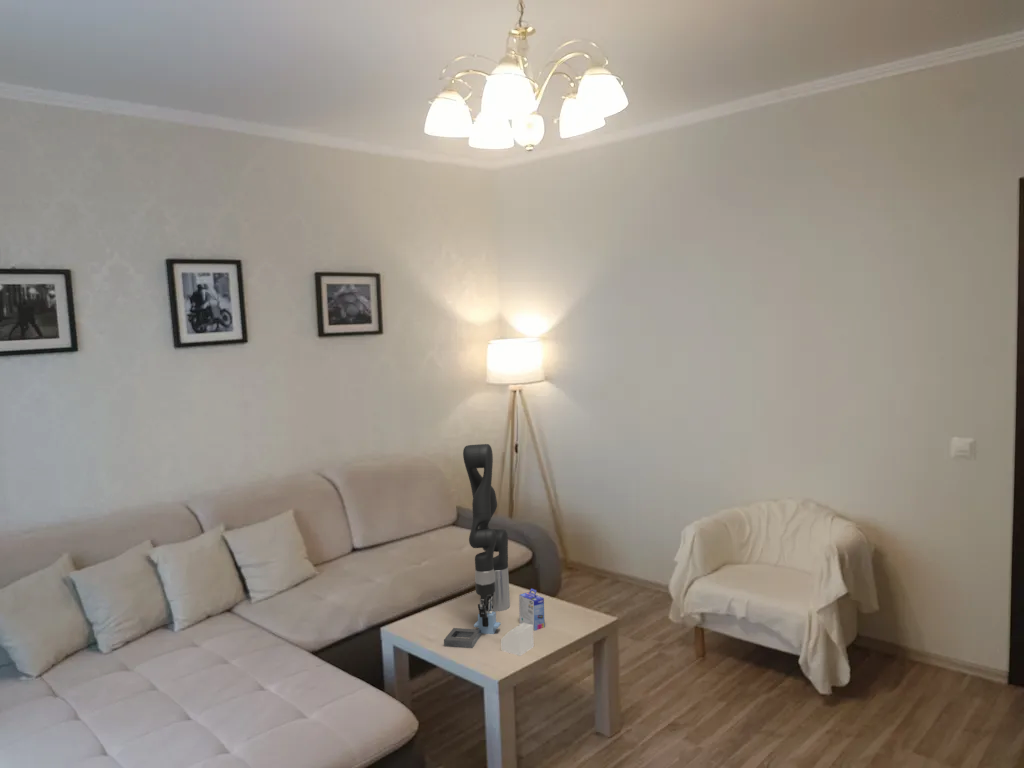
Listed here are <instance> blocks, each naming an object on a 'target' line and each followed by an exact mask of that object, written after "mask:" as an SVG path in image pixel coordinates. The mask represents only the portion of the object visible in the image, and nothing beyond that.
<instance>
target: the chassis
mask: <svg viewBox="0 0 1024 768" xmlns="http://www.w3.org/2000/svg"><path fill="white" fill-rule="evenodd" d="M481 636H482V634H481V630H480V629H478V628H476V629H475V628H463V627H462V628H461V627H460V628H459V627H452V629H451V630H450V631H449V632H448V634H447V635H446V637H444V639H443V646H444V647H450V648H462V649H464V648H465V649H473V648H474V647H475V646H476V644H477V642H479V639H480V638H481Z"/></svg>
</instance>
